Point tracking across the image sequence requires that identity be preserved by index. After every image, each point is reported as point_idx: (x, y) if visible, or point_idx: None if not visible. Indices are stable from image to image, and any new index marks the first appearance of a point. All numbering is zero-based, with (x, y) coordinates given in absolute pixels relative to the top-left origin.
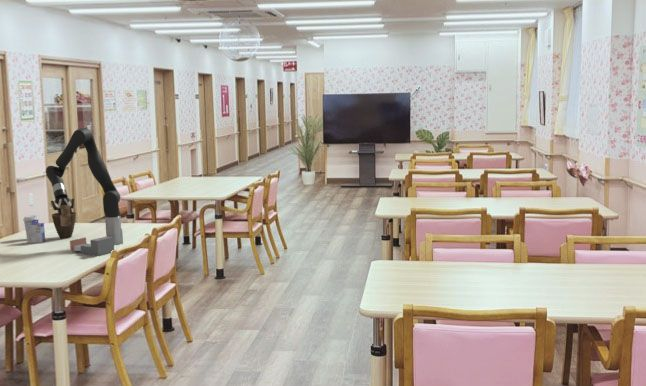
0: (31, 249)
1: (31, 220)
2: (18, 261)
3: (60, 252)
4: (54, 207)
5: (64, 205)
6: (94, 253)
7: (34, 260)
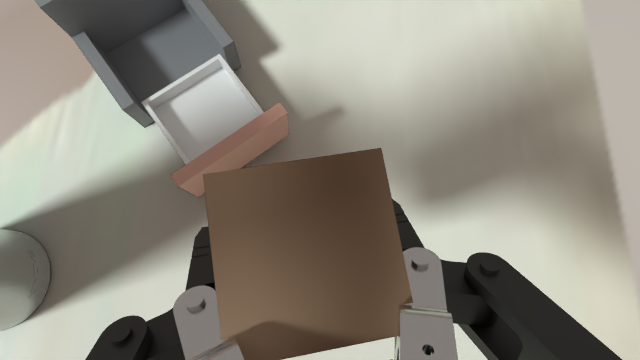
0: None
1: None
2: (533, 39)
3: None
4: (505, 267)
5: (308, 304)
6: None
7: (463, 24)
